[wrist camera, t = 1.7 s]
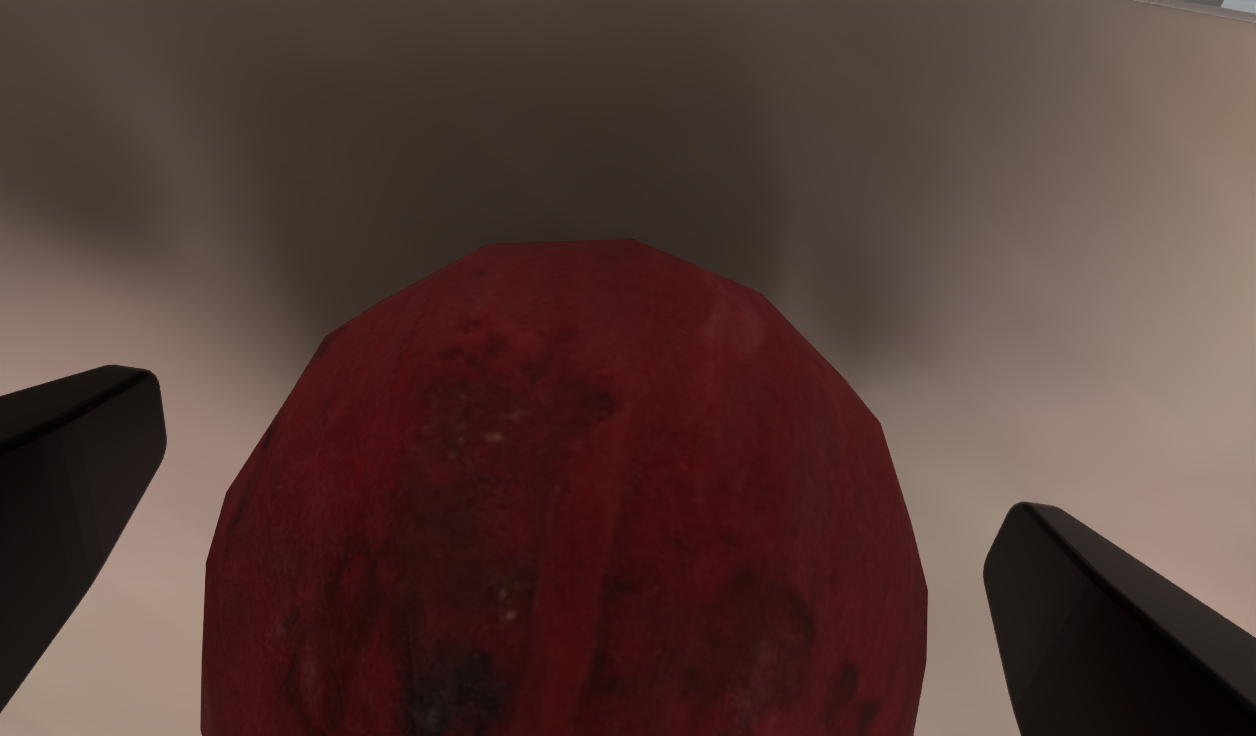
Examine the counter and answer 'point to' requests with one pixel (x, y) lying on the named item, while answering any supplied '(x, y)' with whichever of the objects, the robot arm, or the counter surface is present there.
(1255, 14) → the bin
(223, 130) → the counter surface
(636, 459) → the onion
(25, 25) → the counter surface
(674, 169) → the counter surface
